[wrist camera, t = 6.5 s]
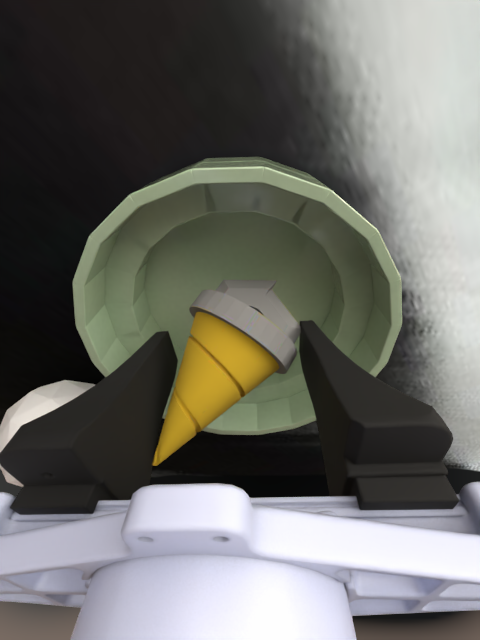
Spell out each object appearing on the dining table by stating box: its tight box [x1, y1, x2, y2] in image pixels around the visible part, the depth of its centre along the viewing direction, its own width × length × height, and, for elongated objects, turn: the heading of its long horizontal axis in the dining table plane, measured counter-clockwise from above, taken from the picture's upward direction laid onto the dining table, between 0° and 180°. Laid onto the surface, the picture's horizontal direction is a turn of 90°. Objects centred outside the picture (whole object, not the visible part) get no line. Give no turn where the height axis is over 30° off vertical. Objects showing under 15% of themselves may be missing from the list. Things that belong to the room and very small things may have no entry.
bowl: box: [73, 157, 402, 435], centre depth 16 cm, size 16×16×5 cm
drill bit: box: [152, 280, 301, 466], centre depth 12 cm, size 5×5×10 cm
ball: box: [0, 380, 95, 487], centre depth 21 cm, size 8×8×8 cm
